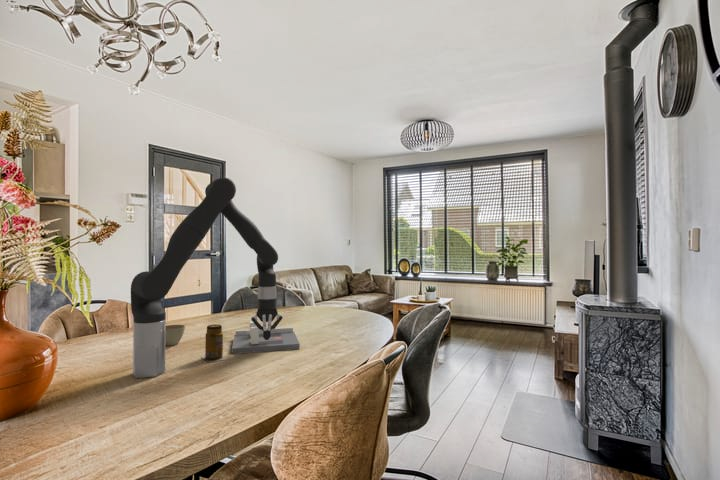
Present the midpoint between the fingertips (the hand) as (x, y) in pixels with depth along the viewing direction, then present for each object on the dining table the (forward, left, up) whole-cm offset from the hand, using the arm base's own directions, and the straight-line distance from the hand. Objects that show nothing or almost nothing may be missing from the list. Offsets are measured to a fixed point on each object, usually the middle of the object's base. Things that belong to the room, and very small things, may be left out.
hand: (266, 339), depth 153 cm
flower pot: (+16, +38, -4) cm, 42 cm away
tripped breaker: (0, +5, -1) cm, 5 cm away
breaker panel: (+6, 0, -3) cm, 7 cm away
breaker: (+12, +5, -1) cm, 13 cm away
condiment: (-9, +19, -4) cm, 21 cm away
